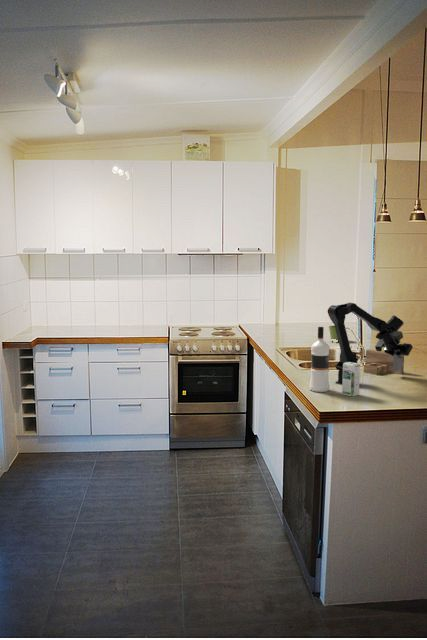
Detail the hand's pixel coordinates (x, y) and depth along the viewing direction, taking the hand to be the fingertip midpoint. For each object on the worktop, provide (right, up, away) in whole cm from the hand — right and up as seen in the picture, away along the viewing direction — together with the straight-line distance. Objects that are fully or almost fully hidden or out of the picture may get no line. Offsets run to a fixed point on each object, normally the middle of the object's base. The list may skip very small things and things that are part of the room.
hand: (399, 357), depth 280 cm
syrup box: (-34, -15, -35) cm, 51 cm away
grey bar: (-1, -7, 0) cm, 7 cm away
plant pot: (-8, +3, +108) cm, 108 cm away
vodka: (-47, -14, -27) cm, 56 cm away
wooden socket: (-8, -9, +12) cm, 16 cm away
